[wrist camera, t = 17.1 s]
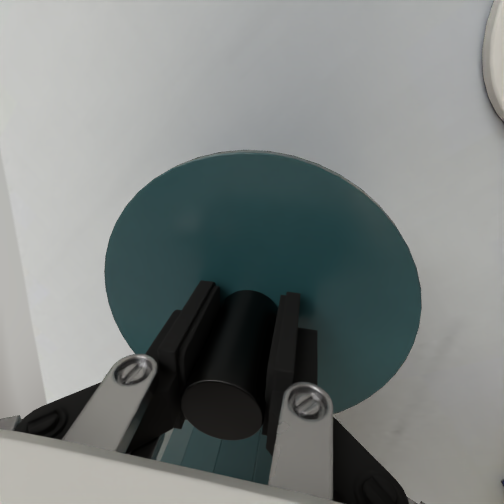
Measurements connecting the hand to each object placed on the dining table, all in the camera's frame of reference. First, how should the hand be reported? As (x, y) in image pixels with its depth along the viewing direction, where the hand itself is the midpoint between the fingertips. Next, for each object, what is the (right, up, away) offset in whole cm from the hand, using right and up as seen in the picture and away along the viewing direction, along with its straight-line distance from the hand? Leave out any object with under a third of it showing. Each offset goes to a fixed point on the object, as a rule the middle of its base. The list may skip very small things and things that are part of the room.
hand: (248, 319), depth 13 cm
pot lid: (0, 0, +1) cm, 1 cm away
